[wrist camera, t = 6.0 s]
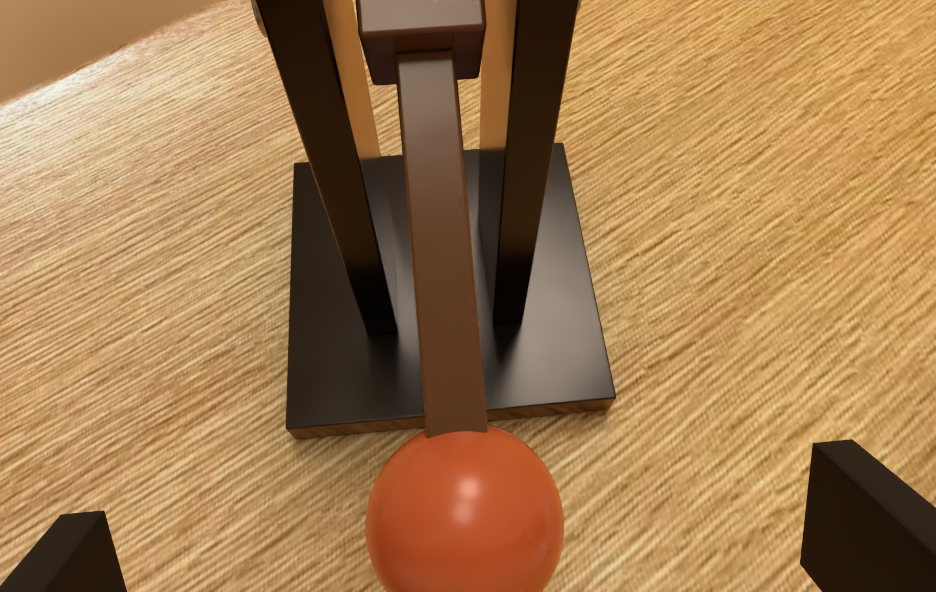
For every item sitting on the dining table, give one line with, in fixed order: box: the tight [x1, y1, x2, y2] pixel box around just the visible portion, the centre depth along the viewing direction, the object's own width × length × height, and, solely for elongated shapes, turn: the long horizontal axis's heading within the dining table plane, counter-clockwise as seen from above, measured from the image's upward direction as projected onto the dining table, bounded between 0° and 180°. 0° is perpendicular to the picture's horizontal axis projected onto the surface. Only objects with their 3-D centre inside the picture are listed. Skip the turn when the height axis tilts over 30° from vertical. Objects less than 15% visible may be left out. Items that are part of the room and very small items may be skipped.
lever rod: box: [356, 0, 564, 592], centre depth 12 cm, size 13×4×4 cm, turn 5°
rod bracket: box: [251, 0, 616, 439], centre depth 17 cm, size 10×10×14 cm
